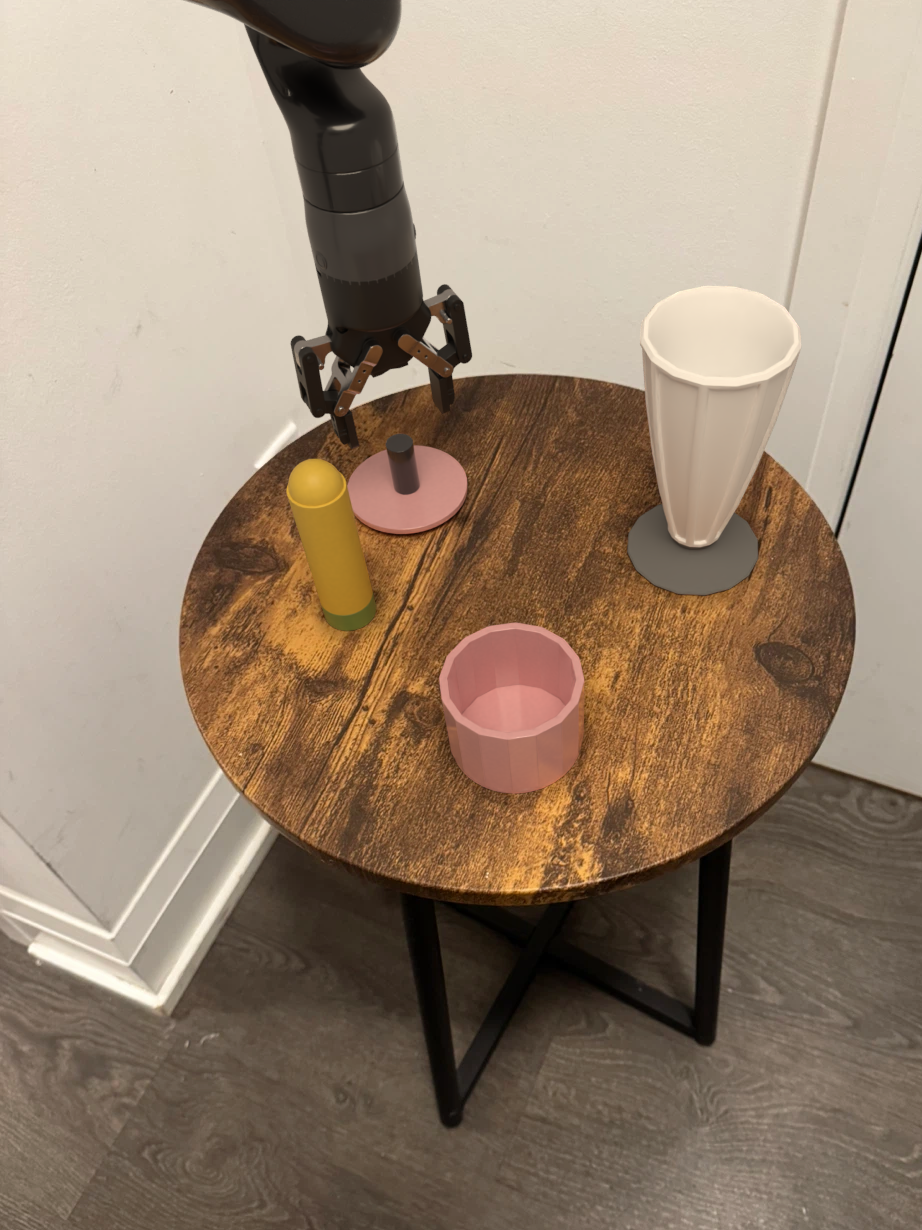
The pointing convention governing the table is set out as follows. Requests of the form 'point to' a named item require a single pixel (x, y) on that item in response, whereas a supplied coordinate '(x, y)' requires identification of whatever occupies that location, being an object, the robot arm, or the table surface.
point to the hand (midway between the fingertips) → (396, 425)
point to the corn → (331, 543)
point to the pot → (513, 707)
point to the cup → (708, 430)
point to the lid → (407, 487)
